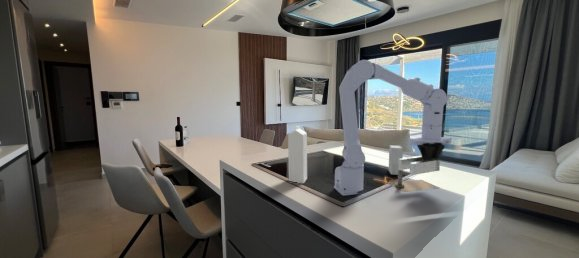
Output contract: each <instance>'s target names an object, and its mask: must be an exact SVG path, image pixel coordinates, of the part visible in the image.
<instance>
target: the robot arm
mask: <svg viewBox="0 0 579 258" xmlns="http://www.w3.org/2000/svg"><path fill="white" fill-rule="evenodd" d="M368 80H369V81H370V80H381V81H383V82H386V83H387V84H390V85H393V86H395V87H397V88H399V89H401V92H402V94H404V95H405V96H407V97H410V98H412V99H414V100H416V101H418V102H420V103H421V105H422V106H423V107H422V119H421V122H422V124H421V137H415V138H410V139H409V145H410V146H414V147H415V146H417V148H418V150H419V152H420V154H421V155H420V156H422V158H423V161H426V160H431V158H435V159H438V160H439V157H440V155H441V153H442V152H443V150H444V149H445V145H444V144H449V145H450V144H452V137H447V136H442V133H443V132H442V129H443V117H444V116H443V115H444V106H445V105H446V104H447V103H448V101H449V97H448V96H447V93H446V92H445V90H443V89H442V88H434V85H432V84H428V83H425V82H423V81H421V78H419V77H415V78H414V77H410V78H405V77H403V76H401V75H400V74H397V73H395V72H394V71H392V70H389V69H388V68H386V67H384V66H382V65H381V64H378V63H375V62H371V61H370V60H368V59H361V60H358V61H357V62H356V63H355V64H353V65H352V66H351V67H350V68H349V69H347V71H346V73H345V74H344V78H343V80H342V81H341V83H340V85H339V88H338V91H339V99H340V109H341V118H342V127H343V130H342V131H343V136H344V137H343V149H342V151H341V153H342V157H343V159H344V161H343V162H342V163H341V164H342V165H340V166H337V167H335V169H334V186H333V189H335V190H336V191H337V192H338V193H339V194H340V195H341V196H351V195H361V193H360V192H361V191H363V190H364V174H365V172H364V169H365V165H364V164H365V162H366V156H365V152H363V150H362V145H361V141H360V137H359V136H360V135H359V125H358V117H357V105H356V104H357V103H356V95H355V92H356V91H357V89H358V88H359V87H360V86H361V85H362V84H363V83H365V82H366V81H368Z"/></svg>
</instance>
